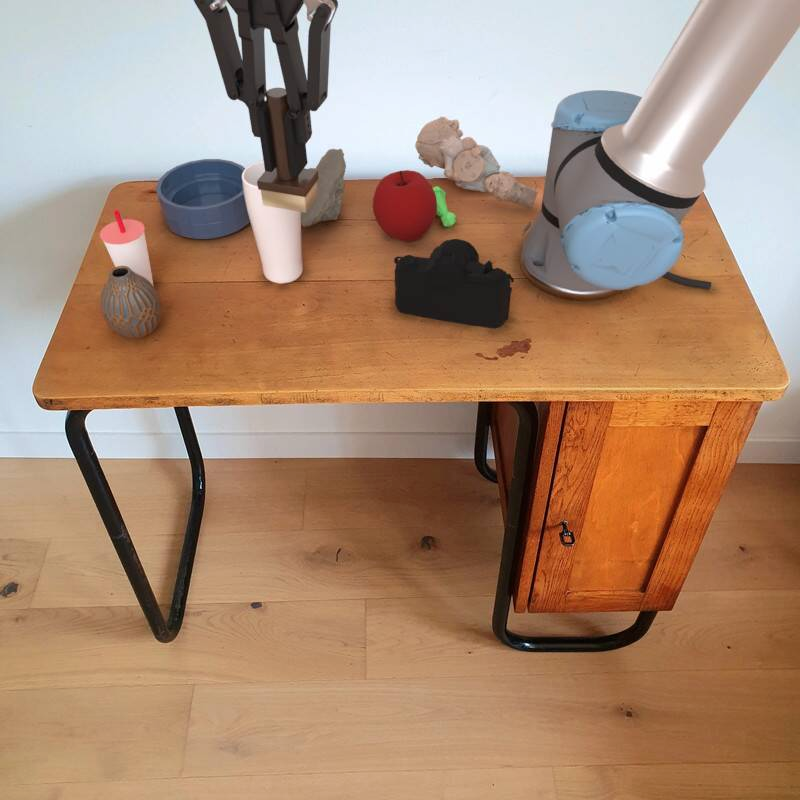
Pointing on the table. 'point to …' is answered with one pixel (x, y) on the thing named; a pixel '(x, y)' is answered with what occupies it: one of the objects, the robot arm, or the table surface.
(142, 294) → the vase
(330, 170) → the grey rock
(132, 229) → the cup
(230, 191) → the bowl
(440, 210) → the game piece
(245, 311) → the table surface
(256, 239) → the drinking glass
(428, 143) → the figurine
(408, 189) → the apple
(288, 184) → the brush
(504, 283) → the film camera
